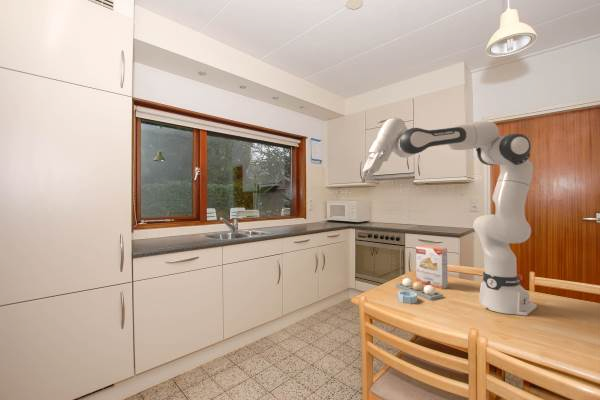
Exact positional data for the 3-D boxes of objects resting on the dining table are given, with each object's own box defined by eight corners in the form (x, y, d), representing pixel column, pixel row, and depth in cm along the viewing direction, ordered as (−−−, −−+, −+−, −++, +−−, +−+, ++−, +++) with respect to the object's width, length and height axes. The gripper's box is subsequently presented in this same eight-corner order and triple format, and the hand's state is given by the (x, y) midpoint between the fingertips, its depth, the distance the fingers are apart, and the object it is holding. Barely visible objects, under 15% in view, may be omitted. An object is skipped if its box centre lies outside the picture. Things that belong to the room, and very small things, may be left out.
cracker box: (415, 284, 146) (415, 245, 146) (421, 282, 150) (421, 244, 150) (442, 291, 135) (441, 249, 135) (448, 289, 139) (447, 248, 139)
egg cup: (406, 298, 127) (406, 289, 127) (421, 303, 120) (420, 294, 120) (393, 301, 123) (393, 292, 123) (407, 307, 116) (407, 297, 116)
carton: (407, 286, 143) (407, 282, 143) (443, 299, 124) (443, 294, 124) (395, 288, 140) (395, 284, 140) (430, 302, 121) (430, 297, 121)
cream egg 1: (407, 285, 141) (407, 276, 141) (415, 288, 137) (414, 278, 137) (400, 287, 139) (400, 277, 139) (407, 290, 135) (407, 280, 135)
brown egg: (417, 289, 135) (417, 279, 135) (426, 292, 131) (425, 282, 131) (410, 291, 133) (410, 281, 133) (418, 294, 129) (418, 283, 129)
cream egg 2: (428, 293, 129) (428, 283, 129) (437, 296, 125) (437, 286, 125) (421, 295, 127) (421, 284, 127) (430, 298, 123) (430, 287, 123)
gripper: (392, 152, 107) (376, 183, 107) (380, 159, 127) (366, 186, 128) (378, 145, 107) (361, 176, 108) (368, 153, 128) (354, 179, 128)
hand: (364, 181), depth 118 cm, fingers open, 8 cm apart
